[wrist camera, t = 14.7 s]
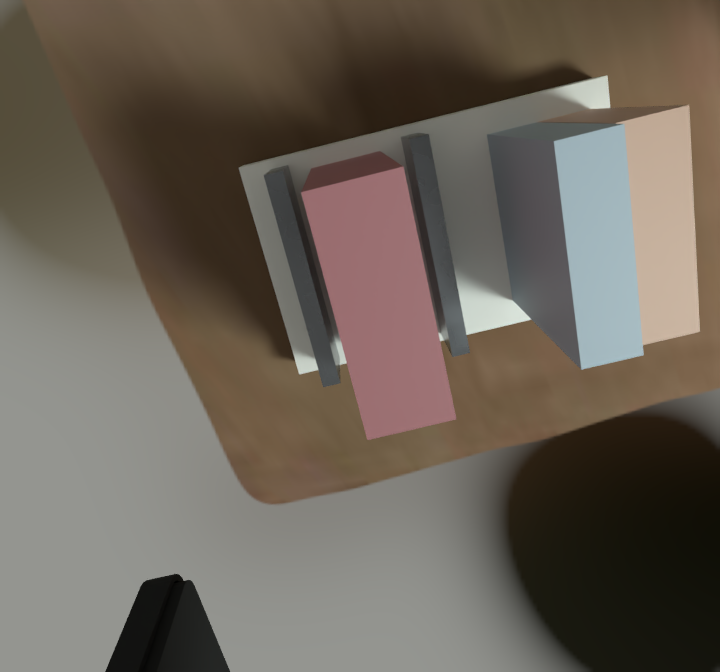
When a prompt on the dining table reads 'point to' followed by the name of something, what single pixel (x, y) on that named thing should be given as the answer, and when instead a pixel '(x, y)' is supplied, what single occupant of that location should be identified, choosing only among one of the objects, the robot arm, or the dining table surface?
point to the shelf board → (458, 196)
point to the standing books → (601, 228)
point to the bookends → (433, 245)
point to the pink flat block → (379, 292)
